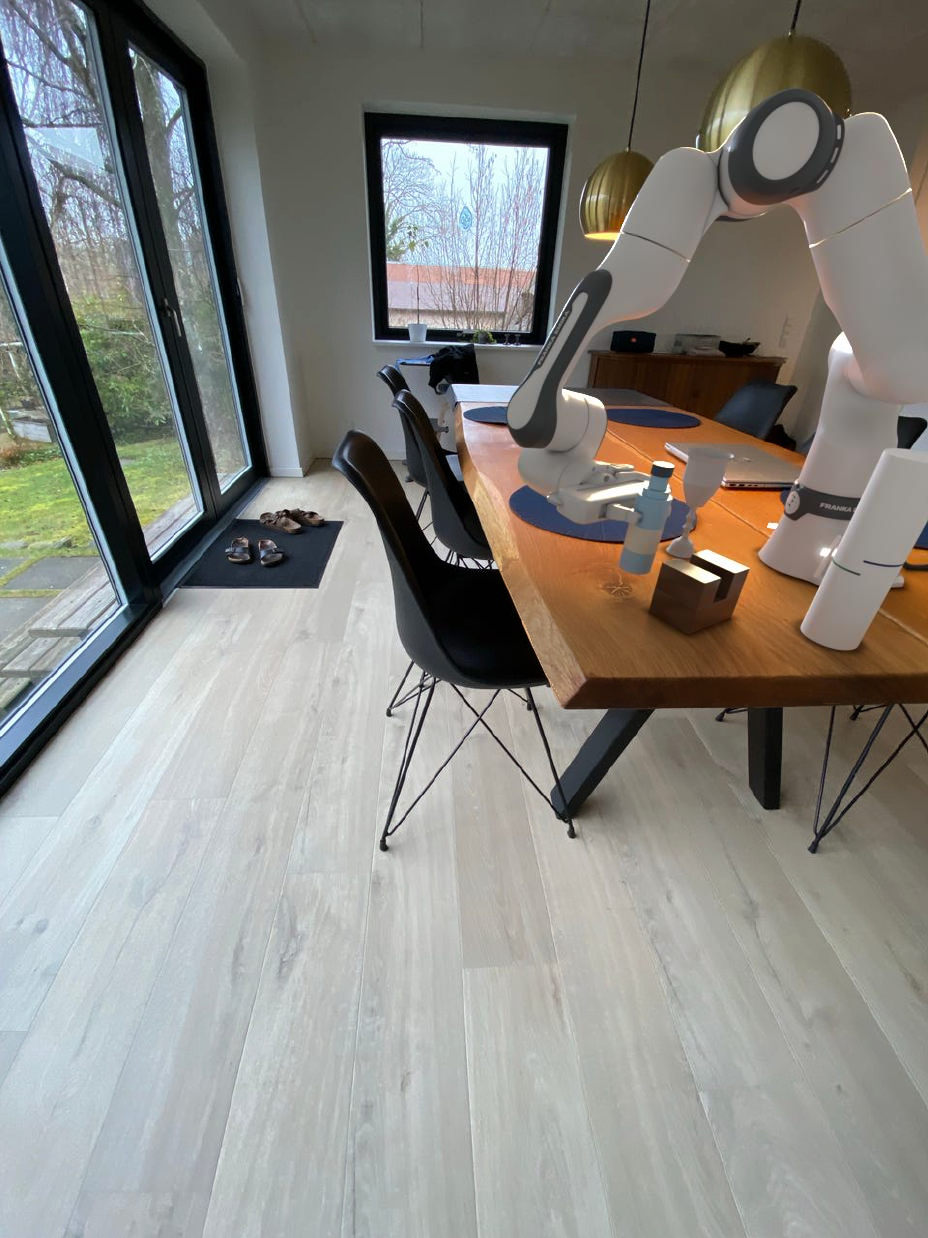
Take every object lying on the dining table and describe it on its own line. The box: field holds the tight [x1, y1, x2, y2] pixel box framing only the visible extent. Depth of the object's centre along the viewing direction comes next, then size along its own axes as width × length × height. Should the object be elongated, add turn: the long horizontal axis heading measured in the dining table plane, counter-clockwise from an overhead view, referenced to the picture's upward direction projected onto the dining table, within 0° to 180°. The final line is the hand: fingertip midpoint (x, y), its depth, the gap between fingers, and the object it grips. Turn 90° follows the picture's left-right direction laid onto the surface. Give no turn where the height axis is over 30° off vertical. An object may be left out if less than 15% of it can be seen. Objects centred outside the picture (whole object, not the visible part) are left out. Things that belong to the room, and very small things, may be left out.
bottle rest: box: [648, 549, 751, 635], centre depth 74 cm, size 7×10×8 cm
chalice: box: [666, 446, 734, 559], centre depth 91 cm, size 7×7×18 cm
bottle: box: [618, 460, 676, 576], centre depth 79 cm, size 14×5×14 cm
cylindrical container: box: [800, 447, 928, 651], centre depth 67 cm, size 7×7×25 cm
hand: (654, 515), depth 77 cm, fingers closed on bottle, 5 cm apart
